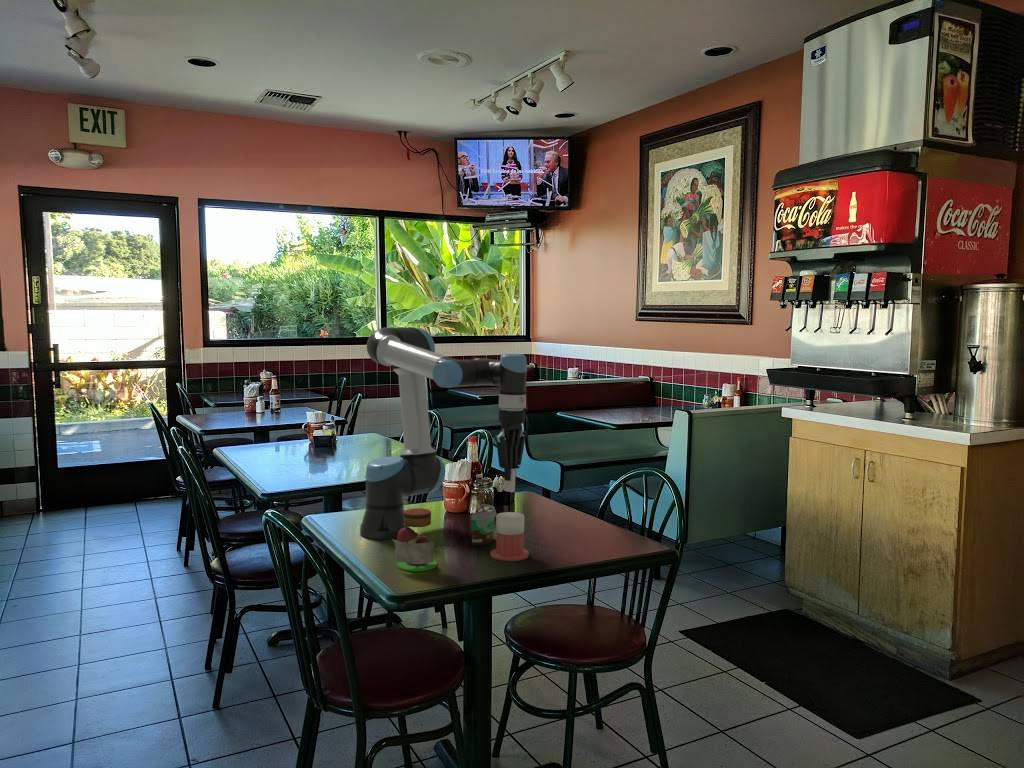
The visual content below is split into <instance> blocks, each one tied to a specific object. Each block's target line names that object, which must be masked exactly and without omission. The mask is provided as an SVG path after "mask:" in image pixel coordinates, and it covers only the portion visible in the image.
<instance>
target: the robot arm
mask: <svg viewBox="0 0 1024 768" xmlns="http://www.w3.org/2000/svg"><path fill="white" fill-rule="evenodd" d="M366 352H367V355H368V356H369V358H370V359H371V361H373V362H375V363H377V364H380V365H382V366H385V367H392V369H393V370H392V371H393V372H395V374H397V376H398V387H399V388H398V389H399V401H400V410H401V411H400V412H401V424H402V433H403V434H402V435H403V447H404V448H403V450H402V451H401V452H400V454H399V455H400V456H398V455H397V456H396V455H395V456H394V455H391V456H382V457H378V458H375V459H373V460H370V461H369V462H368V463H367V465H366V466H365V467H366V468H365V476H364V478H365V511H364V514H363V518H362V523H361V524H360V526H359V534H360V536H361V537H363V538H366V539H373V540H392V539H393V540H395V539H397V537H398V532H399V530H400V529H402V528H407V527H408V528H410V527H409V526H405V525H404V511H405V508H404V500H405V499H404V497H405V498H406V497H410V496H411V497H412V496H416V495H421V494H425V495H426V494H430V493H432V492H435V491H437V490H439V489H440V487H441V486H442V484H444V481H445V477H446V468H445V466H446V465H445V464H444V463H445V462H443V460H442V458H441V457H440V456H438V455H437V450H436V449H434V447H432V444H431V443H432V442H431V431H430V420H429V408H428V407H429V406H428V396H427V384H426V378H428V379H431V380H433V382H435V384H436V385H437V386H438V387H440V388H447V389H452V388H460V387H479V386H496V387H499V390H498V407H499V408H500V409H499V410H498V419H497V420H498V422H499V423H500V424H501V426H500V431H499V432H500V433H499V434H495V435H494V440H495V443H496V451H497V458H498V465H499V468H501V469H503V471H504V472H503V480H504V483H503V484H504V486H503V489H504V491H505V492H509V493H514V492H515V491H516V477H517V469H518V470H519V469H520V467H521V465H522V459H523V455H524V454H523V453H524V449H525V448H524V447H525V442H526V438H527V435H528V431H524V429H523V426H522V425H523V424H524V423H526V411H525V408H526V391H527V375H528V364H527V357H526V355H524V354H521V353H516V354H515V353H503V354H501V355H500V358H499V359H492V358H486V357H483V358H482V357H478V358H474V359H457V358H456V359H455V358H452V357H449V356H447V355H443V354H440V353H437V352H436V345H435V342H434V339H433V337H432V335H431V334H430V333H429V332H428V331H427V330H426V329H423V328H419V327H415V326H414V327H412V326H411V327H387V326H386V327H381V328H379V329H377V330H375V331H374V332H372V333H371V335H370V336H368V339H367V343H366ZM504 491H503V492H504Z"/></svg>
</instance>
